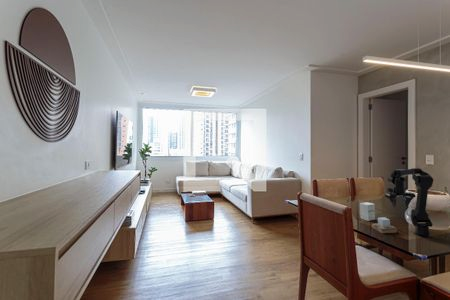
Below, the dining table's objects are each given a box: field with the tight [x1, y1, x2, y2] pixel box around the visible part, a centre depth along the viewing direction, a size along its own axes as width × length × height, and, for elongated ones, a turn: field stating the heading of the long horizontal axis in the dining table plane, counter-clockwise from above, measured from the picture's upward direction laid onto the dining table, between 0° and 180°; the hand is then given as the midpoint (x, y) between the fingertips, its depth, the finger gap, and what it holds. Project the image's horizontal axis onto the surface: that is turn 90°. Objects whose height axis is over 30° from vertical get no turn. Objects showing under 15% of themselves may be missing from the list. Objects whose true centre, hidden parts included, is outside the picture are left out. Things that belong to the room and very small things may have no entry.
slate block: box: [377, 216, 391, 227], centre depth 156 cm, size 5×5×5 cm
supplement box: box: [359, 201, 376, 222], centre depth 179 cm, size 7×7×13 cm
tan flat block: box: [371, 222, 398, 234], centre depth 156 cm, size 10×10×3 cm
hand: (400, 206), depth 166 cm, fingers open, 9 cm apart
